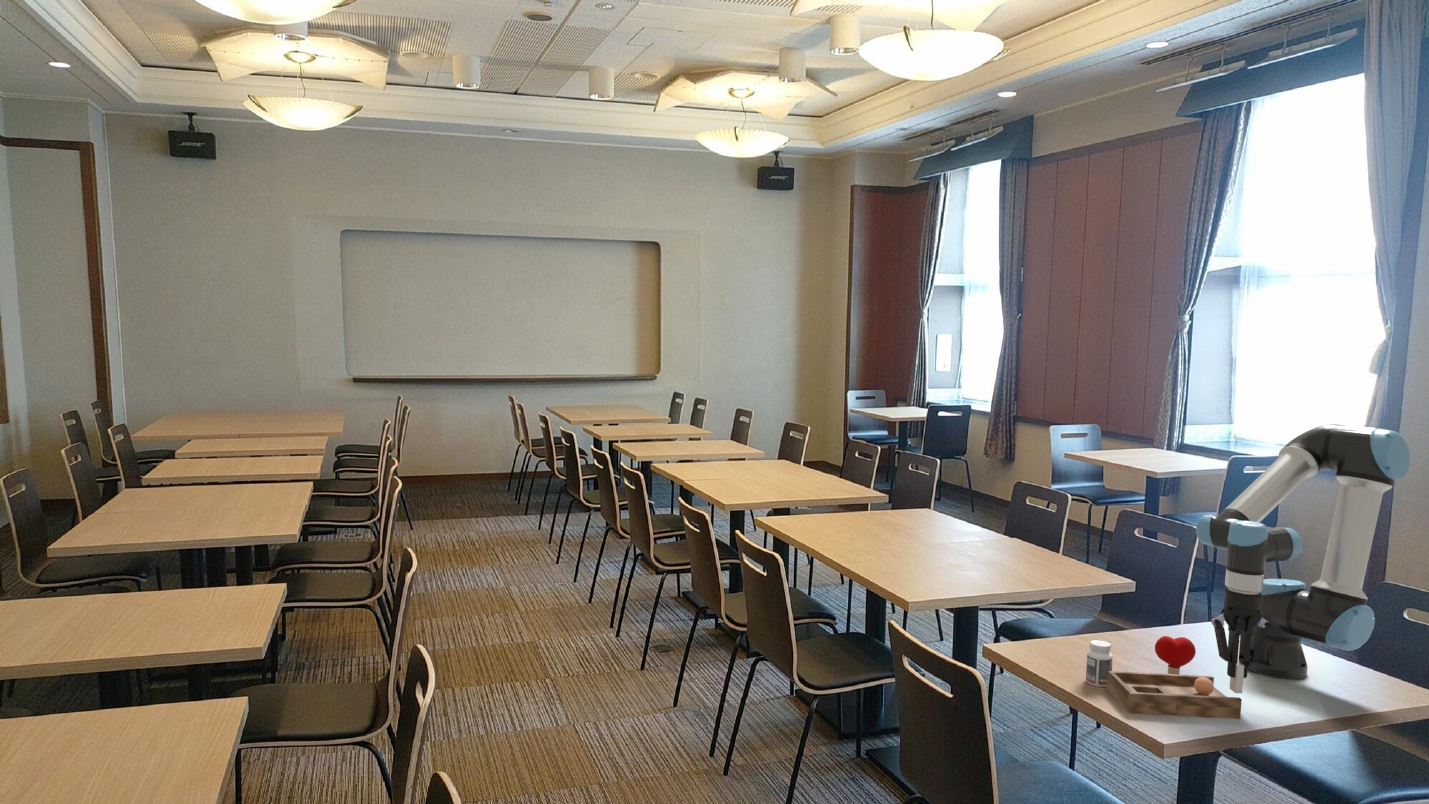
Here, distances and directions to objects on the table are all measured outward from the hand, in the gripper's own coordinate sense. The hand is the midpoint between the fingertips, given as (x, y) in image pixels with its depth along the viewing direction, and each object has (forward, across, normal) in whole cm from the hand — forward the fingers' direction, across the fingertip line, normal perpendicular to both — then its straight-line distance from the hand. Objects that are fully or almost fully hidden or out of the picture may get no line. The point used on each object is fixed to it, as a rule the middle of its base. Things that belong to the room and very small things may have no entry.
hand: (1235, 690), depth 212 cm
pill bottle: (+4, +27, -11) cm, 29 cm away
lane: (+4, +14, 0) cm, 15 cm away
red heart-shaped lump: (+4, +6, -18) cm, 19 cm away
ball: (+1, +7, 0) cm, 7 cm away
